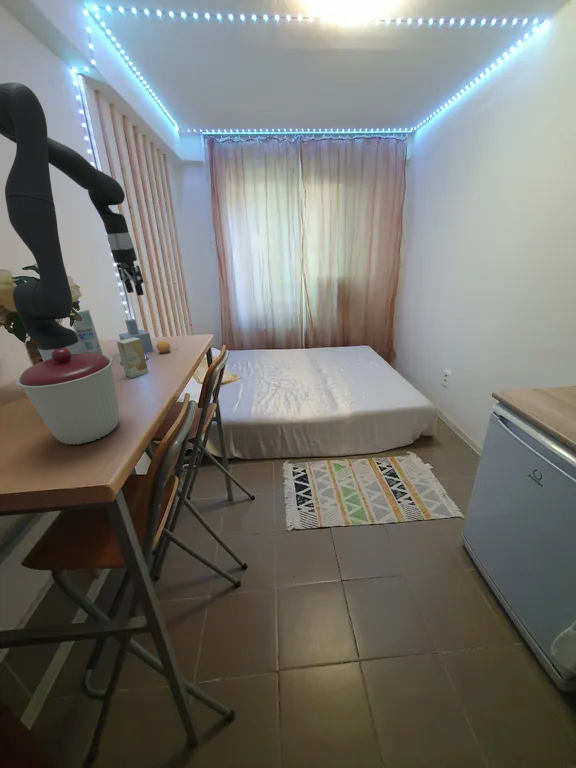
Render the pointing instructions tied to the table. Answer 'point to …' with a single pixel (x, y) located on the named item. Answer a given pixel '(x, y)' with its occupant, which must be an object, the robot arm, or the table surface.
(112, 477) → the table surface
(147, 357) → the rest mark
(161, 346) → the ball
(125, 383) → the table surface
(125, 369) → the skincare box
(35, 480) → the table surface
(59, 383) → the canister
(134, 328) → the blue stepped block
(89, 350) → the tall pale blue carton
